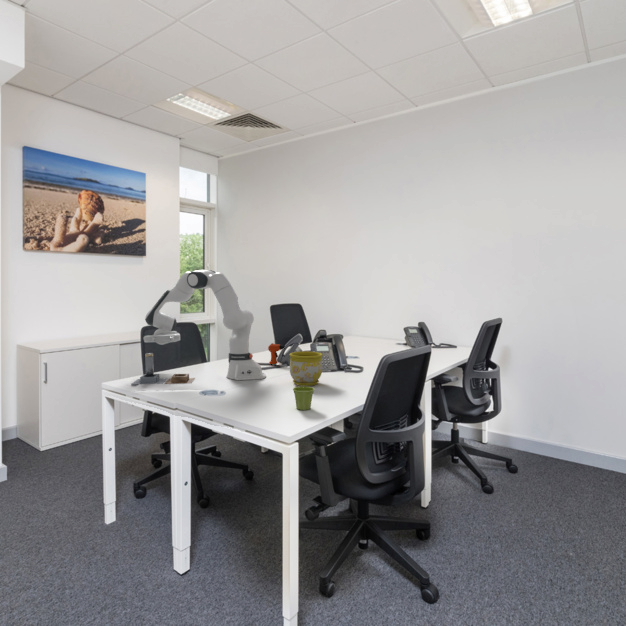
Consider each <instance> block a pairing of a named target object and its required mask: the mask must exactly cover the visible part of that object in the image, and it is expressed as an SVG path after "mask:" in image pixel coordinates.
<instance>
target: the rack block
mask: <svg viewBox="0 0 626 626" xmlns="http://www.w3.org/2000/svg"><path fill="white" fill-rule="evenodd" d="M167 381H168V378H160V374H159V373H154V377H146V373H144V374H142V376H140V377H139V378H137V379H136V380H134V381H133V382H132V383H130V384H131V385H137V386H139V385H143V384H144V385H146V384H147V385H148V384H152V385H153V384H154V385H155V384H162V385H163V384H165V383H166V382H167ZM131 385H130V386H131Z"/></svg>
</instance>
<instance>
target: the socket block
mask: <svg viewBox="0 0 626 626" xmlns="http://www.w3.org/2000/svg"><path fill="white" fill-rule="evenodd" d="M195 379H196V377H190V373H173V374H172V376H171V377H169V379H167V380H166V381H165V382H164V385H177V384H179V385H180V384H192V383H194V380H195Z"/></svg>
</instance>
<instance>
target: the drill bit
mask: <svg viewBox="0 0 626 626" xmlns="http://www.w3.org/2000/svg"><path fill="white" fill-rule="evenodd" d="M144 356H145V357H144V358H145V374H146V377H154V374H155V371H154V367H155V366H154V353H153V352H149V353H148V352H146V353H145V355H144Z"/></svg>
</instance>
